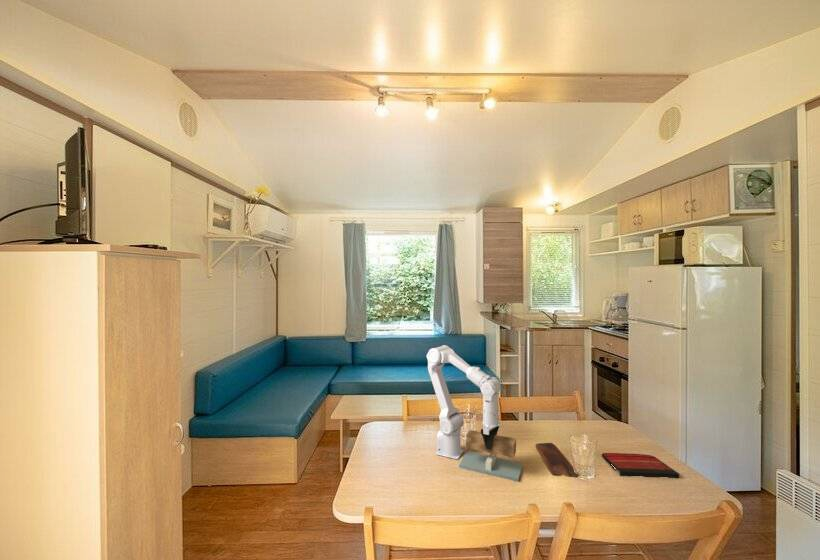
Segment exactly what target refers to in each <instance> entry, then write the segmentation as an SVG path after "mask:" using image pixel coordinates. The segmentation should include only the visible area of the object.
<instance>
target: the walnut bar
mask: <svg viewBox="0 0 820 560" xmlns="http://www.w3.org/2000/svg"><path fill="white" fill-rule="evenodd" d="M465 448H467V449H471V450H475V451H480V452H485V453H489V454H490V453H493V454H496V455H498V456H502V457H508V458H513V459H515V456H516V453H517V438H514V437H509V436H503V435H499V434H497V435H495V436H494V440H493V446H492V449H491V450H489V449H486V447H485V443H484V439H483V436H482V434H481V431H479V430H475V429H474V430H473V429H469V430H468V432H466V435H465Z"/></svg>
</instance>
